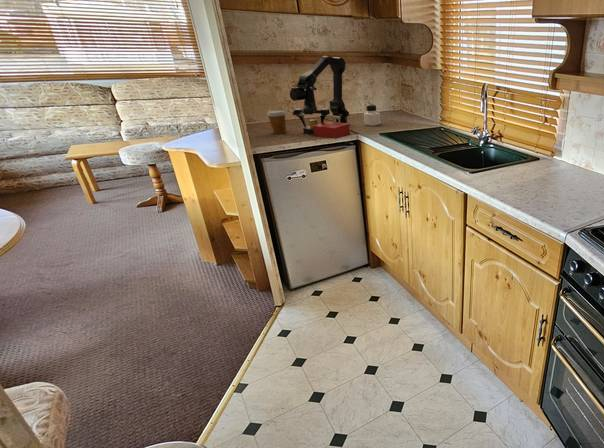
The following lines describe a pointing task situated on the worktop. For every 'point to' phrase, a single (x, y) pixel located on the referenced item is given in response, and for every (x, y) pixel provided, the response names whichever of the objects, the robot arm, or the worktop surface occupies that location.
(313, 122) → the valve knob
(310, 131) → the valve panel
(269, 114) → the disposable coffee cup
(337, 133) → the red cabinet box
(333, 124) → the cabinet lid
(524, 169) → the worktop surface
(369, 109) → the medicine bottle
